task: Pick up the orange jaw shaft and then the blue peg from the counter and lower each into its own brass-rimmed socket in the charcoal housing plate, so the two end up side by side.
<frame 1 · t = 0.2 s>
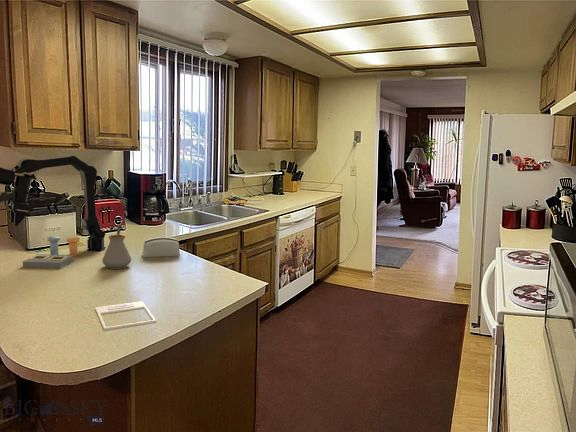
hand: (13, 224, 197), 15 cm above the counter, tool pointing down, fingers open, 9 cm apart
photo frame: (124, 317, 144), on the counter
jaw orange: (73, 256, 208), on the counter
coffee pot: (118, 263, 200), on the counter
grey arched block: (161, 256, 215), on the counter
blue peg: (54, 254, 209), on the counter
housing: (49, 264, 195), on the counter
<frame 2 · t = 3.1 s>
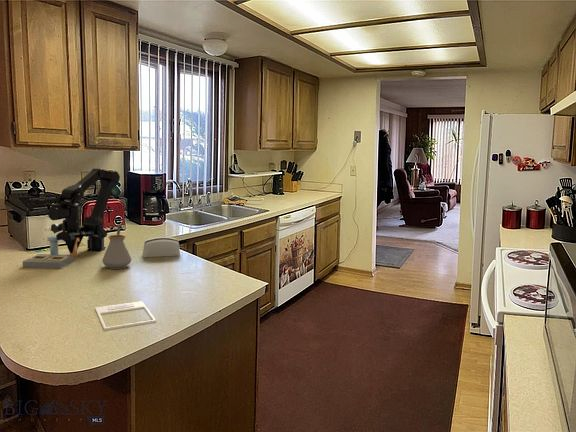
hand: (73, 251, 208), 2 cm above the counter, tool pointing down, fingers closed on jaw orange, 4 cm apart
jaw orange: (73, 256, 208), on the counter, touching gripper
everything else where it was.
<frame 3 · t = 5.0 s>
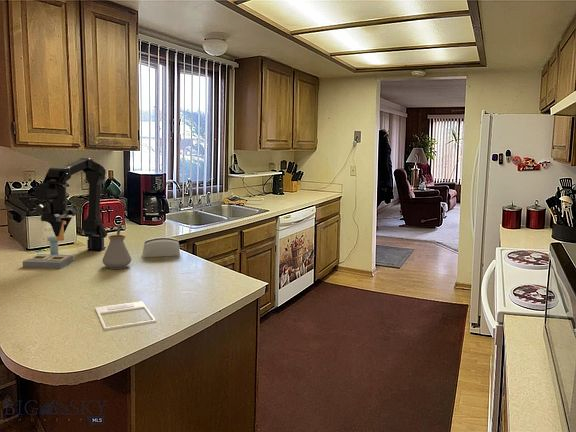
hand: (59, 235, 195), 12 cm above the counter, tool pointing down, fingers closed on jaw orange, 4 cm apart
jaw orange: (59, 240, 196), point 10 cm above the counter, touching gripper
everything else where it was.
when the fingers open (3 cm above the counter, at t = 7.4 s): jaw orange drops 2 cm, resting in housing.
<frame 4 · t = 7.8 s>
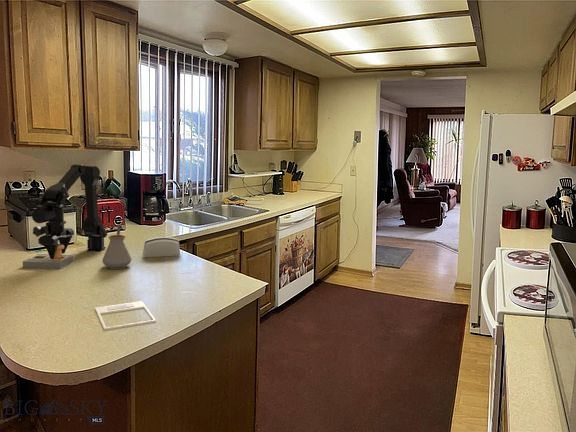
hand: (57, 256, 194), 3 cm above the counter, tool pointing down, fingers open, 9 cm apart
jaw orange: (58, 264, 195), resting in housing
everything else where it was.
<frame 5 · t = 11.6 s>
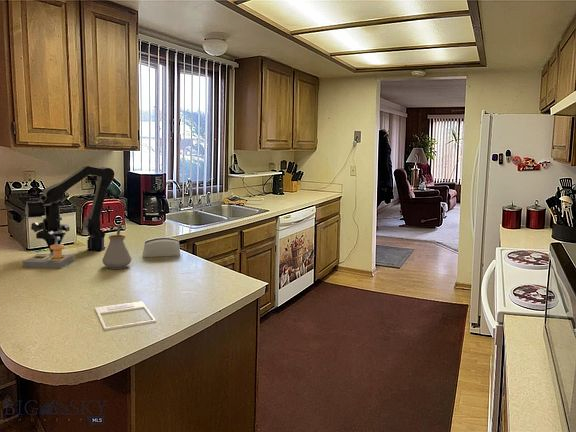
hand: (54, 250, 209), 2 cm above the counter, tool pointing down, fingers closed on blue peg, 4 cm apart
blue peg: (54, 254, 209), on the counter, touching gripper
everything else where it was.
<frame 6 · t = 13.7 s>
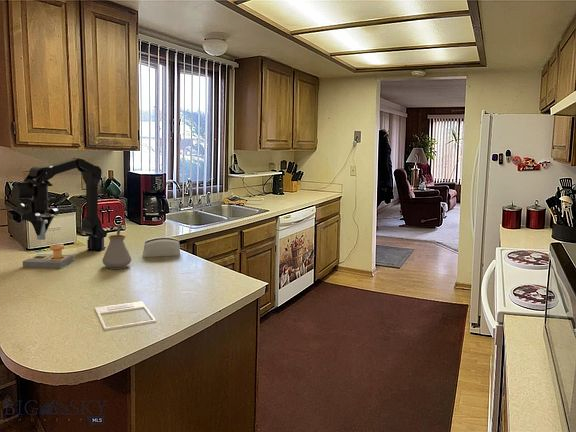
hand: (41, 234, 196), 12 cm above the counter, tool pointing down, fingers closed on blue peg, 4 cm apart
blue peg: (41, 238, 196), point 10 cm above the counter, touching gripper
everything else where it was.
when the fingers open (3 cm above the counter, at t = 16.1 s): blue peg drops 1 cm, resting in housing.
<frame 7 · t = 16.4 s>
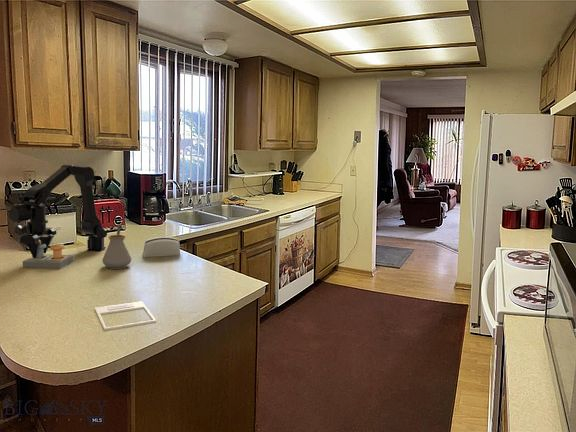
hand: (39, 255, 194), 3 cm above the counter, tool pointing down, fingers open, 7 cm apart
blue peg: (39, 263, 195), resting in housing
everything else where it was.
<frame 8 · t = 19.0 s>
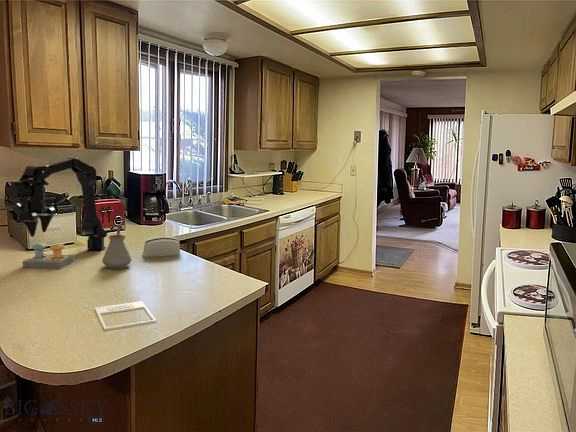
hand: (38, 234, 192), 12 cm above the counter, tool pointing down, fingers open, 9 cm apart
nothing on the counter moved.
at the end: jaw orange 0.1 cm from the target spot on the housing, point 0.0 cm above the housing's base; blue peg 0.1 cm from the target spot on the housing, point 0.0 cm above the housing's base; blue peg tilted 0° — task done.
